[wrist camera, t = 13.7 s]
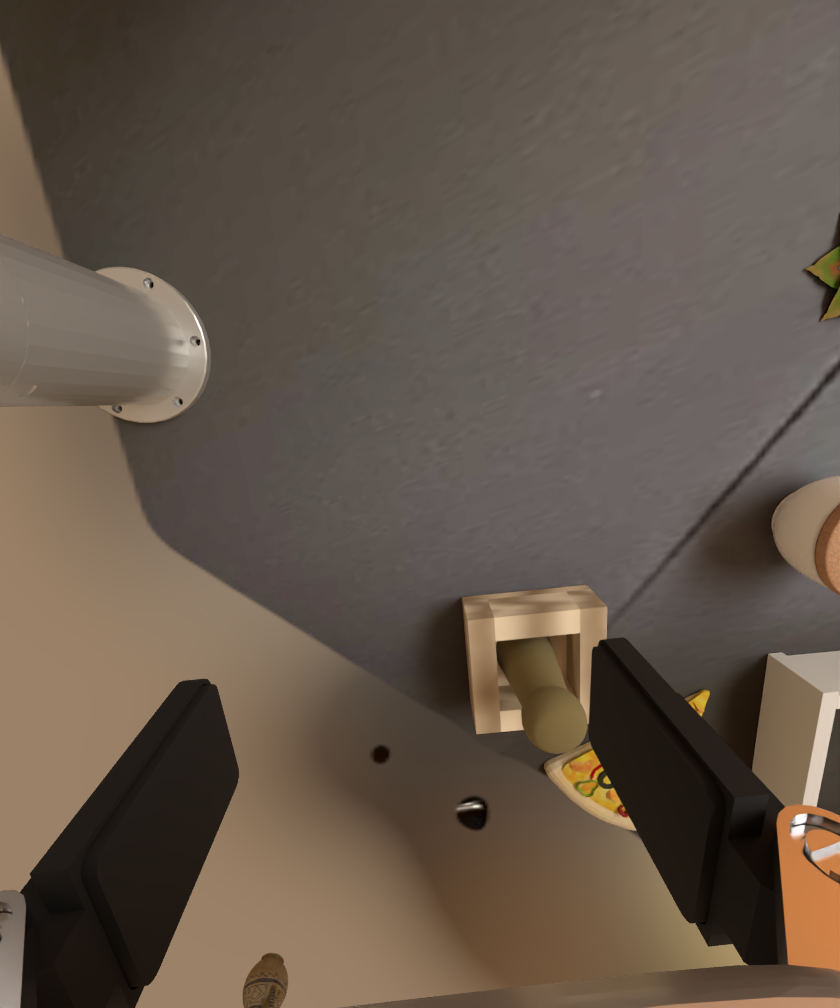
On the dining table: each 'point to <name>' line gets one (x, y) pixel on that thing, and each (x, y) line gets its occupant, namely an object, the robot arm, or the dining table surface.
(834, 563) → the lidded jar
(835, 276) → the lily flower
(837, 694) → the white rectangular frame
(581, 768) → the pizza slice
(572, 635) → the caddy
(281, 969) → the decorative pitcher
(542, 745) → the cork
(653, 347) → the dining table surface
